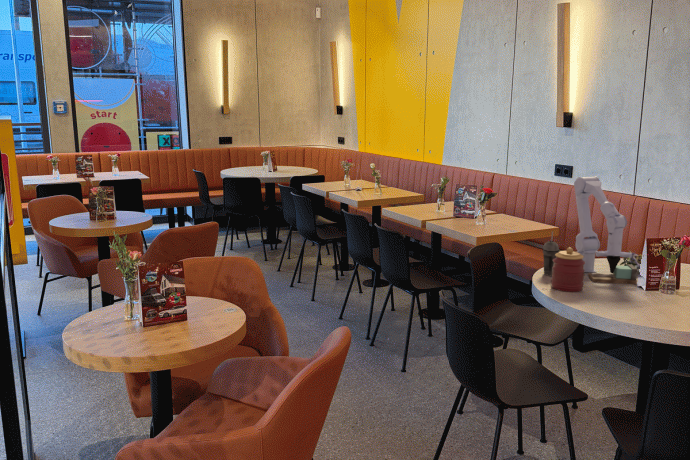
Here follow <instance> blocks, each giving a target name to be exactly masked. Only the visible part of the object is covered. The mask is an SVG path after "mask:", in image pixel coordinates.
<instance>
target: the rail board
mask: <svg viewBox="0 0 690 460" xmlns="http://www.w3.org/2000/svg"><path fill="white" fill-rule="evenodd" d="M626 264H627V263H626ZM627 266H628V267H630V268H631V269H632V272H631V279H621V278H616V277H615V274H613V273H603V272H602V273H601V272H600V273H599V272H596V273H594V272H587V276H588V278H589V279H590V280H591V282H592V283H604V284H626V285H637V283H638V280H637V279H638V273H637V268H636V267H634V266H633V265H631V264H627Z"/></svg>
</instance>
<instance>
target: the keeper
mask: <svg viewBox="0 0 690 460" xmlns="http://www.w3.org/2000/svg"><path fill="white" fill-rule="evenodd" d="M631 272H632V269H631V268H630V267H628V266H624V265H617V266H616V268H615V270H614V273H612V274H615V277H616V278H621V279H631Z"/></svg>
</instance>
